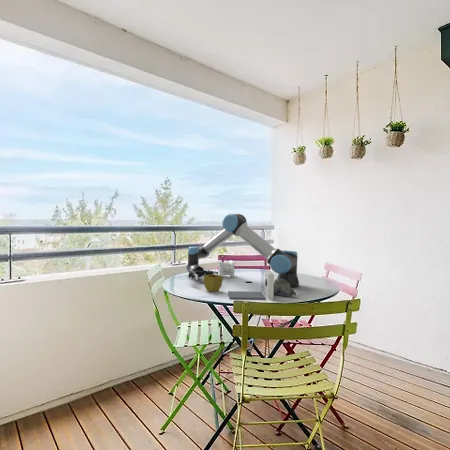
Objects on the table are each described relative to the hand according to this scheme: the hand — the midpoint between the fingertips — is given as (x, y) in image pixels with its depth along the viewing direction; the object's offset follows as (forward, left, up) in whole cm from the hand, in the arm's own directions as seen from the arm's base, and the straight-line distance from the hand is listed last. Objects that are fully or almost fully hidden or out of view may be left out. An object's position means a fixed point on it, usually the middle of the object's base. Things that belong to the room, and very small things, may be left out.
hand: (207, 277), depth 210 cm
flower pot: (-3, +9, -7) cm, 12 cm away
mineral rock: (-44, +19, -7) cm, 49 cm away
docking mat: (-22, +21, -6) cm, 31 cm away
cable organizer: (-13, -34, -7) cm, 37 cm away
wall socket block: (-35, +21, -6) cm, 42 cm away
